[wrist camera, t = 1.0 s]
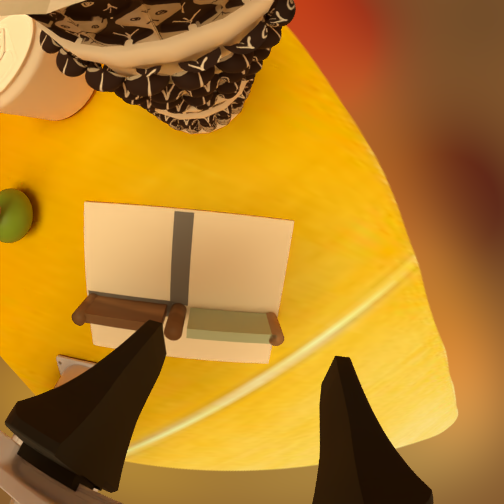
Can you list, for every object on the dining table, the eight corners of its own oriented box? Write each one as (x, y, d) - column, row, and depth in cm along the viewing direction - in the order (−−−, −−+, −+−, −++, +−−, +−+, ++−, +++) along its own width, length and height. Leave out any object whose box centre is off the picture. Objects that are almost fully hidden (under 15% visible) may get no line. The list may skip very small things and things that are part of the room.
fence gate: (190, 317, 29) (186, 339, 26) (190, 305, 29) (186, 326, 25) (275, 324, 30) (282, 346, 27) (277, 312, 30) (285, 333, 26)
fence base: (186, 317, 30) (181, 341, 25) (89, 304, 28) (72, 325, 24) (186, 303, 29) (182, 326, 25) (87, 291, 28) (70, 310, 24)
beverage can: (47, 136, 23) (-33, 133, 12) (29, 76, 21) (-42, 54, 9) (111, 93, 23) (47, 58, 11) (90, 33, 20) (32, -16, 9)
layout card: (267, 360, 33) (268, 363, 32) (95, 342, 30) (93, 344, 30) (292, 220, 28) (294, 221, 28) (86, 201, 26) (84, 202, 25)
